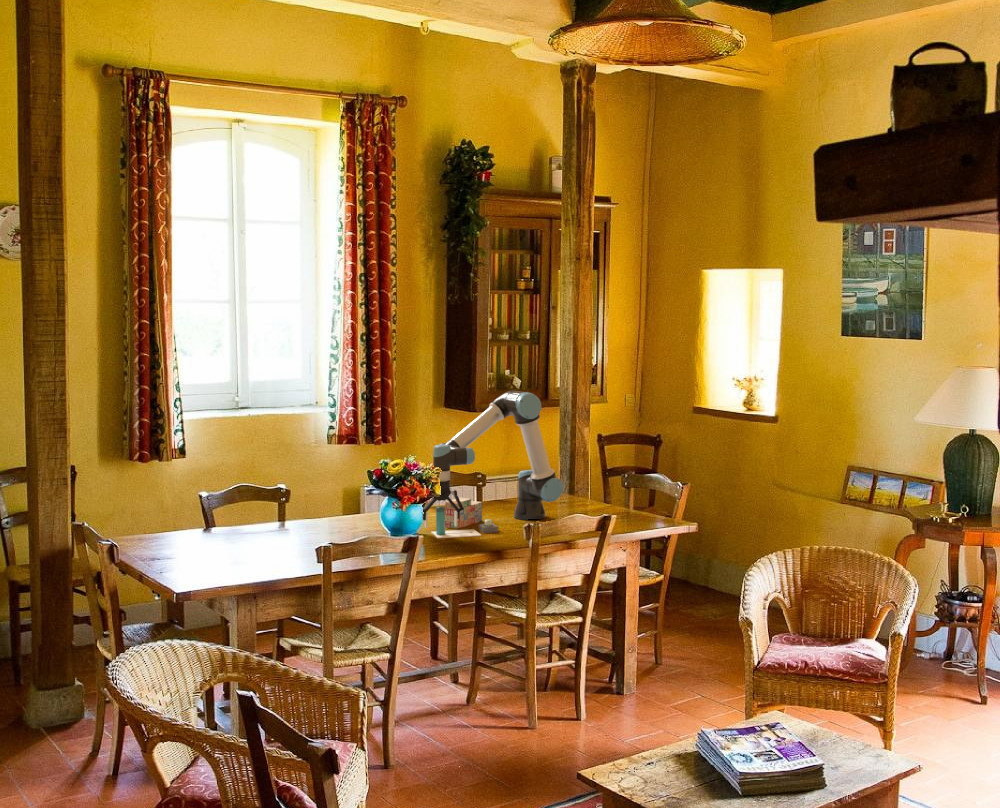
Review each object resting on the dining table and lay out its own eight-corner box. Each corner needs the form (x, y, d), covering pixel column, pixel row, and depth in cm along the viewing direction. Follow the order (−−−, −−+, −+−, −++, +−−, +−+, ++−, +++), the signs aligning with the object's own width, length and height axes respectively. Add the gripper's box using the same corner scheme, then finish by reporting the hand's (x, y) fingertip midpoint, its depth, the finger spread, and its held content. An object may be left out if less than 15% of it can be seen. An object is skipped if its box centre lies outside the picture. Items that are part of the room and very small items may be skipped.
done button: (490, 526, 506) (491, 519, 505) (493, 528, 502) (493, 520, 502) (483, 527, 505) (483, 519, 504) (485, 528, 501) (486, 521, 501)
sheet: (473, 530, 505) (473, 529, 505) (481, 535, 493) (481, 534, 493) (431, 532, 499) (431, 531, 499) (437, 538, 487) (437, 537, 487)
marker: (444, 532, 496) (443, 506, 495) (446, 534, 492) (445, 508, 491) (435, 533, 495) (434, 507, 494) (437, 535, 491) (436, 508, 490)
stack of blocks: (471, 519, 528) (471, 494, 526) (482, 521, 524) (482, 495, 523) (444, 527, 510) (445, 501, 509) (455, 529, 507) (456, 502, 505)
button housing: (493, 528, 508) (493, 523, 508) (498, 532, 501) (498, 526, 501) (478, 529, 506) (478, 524, 506) (483, 532, 499) (483, 527, 499)
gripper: (466, 477, 499) (465, 523, 501) (412, 479, 491) (411, 526, 493) (470, 480, 491) (470, 527, 494) (415, 482, 484) (415, 529, 486)
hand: (441, 526), depth 494 cm, fingers open, 13 cm apart
